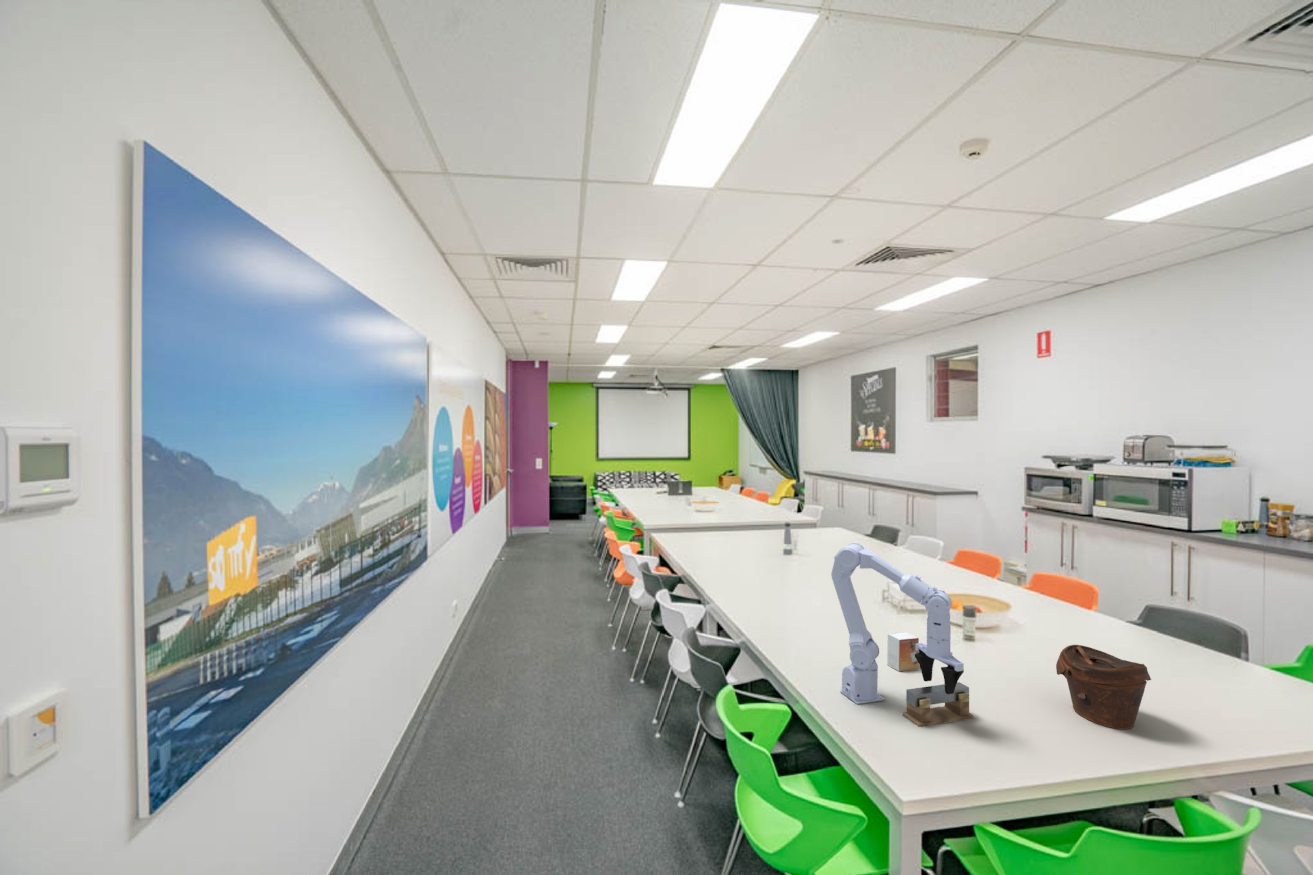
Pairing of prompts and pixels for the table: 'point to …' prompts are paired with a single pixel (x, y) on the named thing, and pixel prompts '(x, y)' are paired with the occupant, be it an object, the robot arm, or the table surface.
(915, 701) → the rail
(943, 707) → the rack
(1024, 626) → the table surface
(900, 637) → the small box
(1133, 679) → the case
